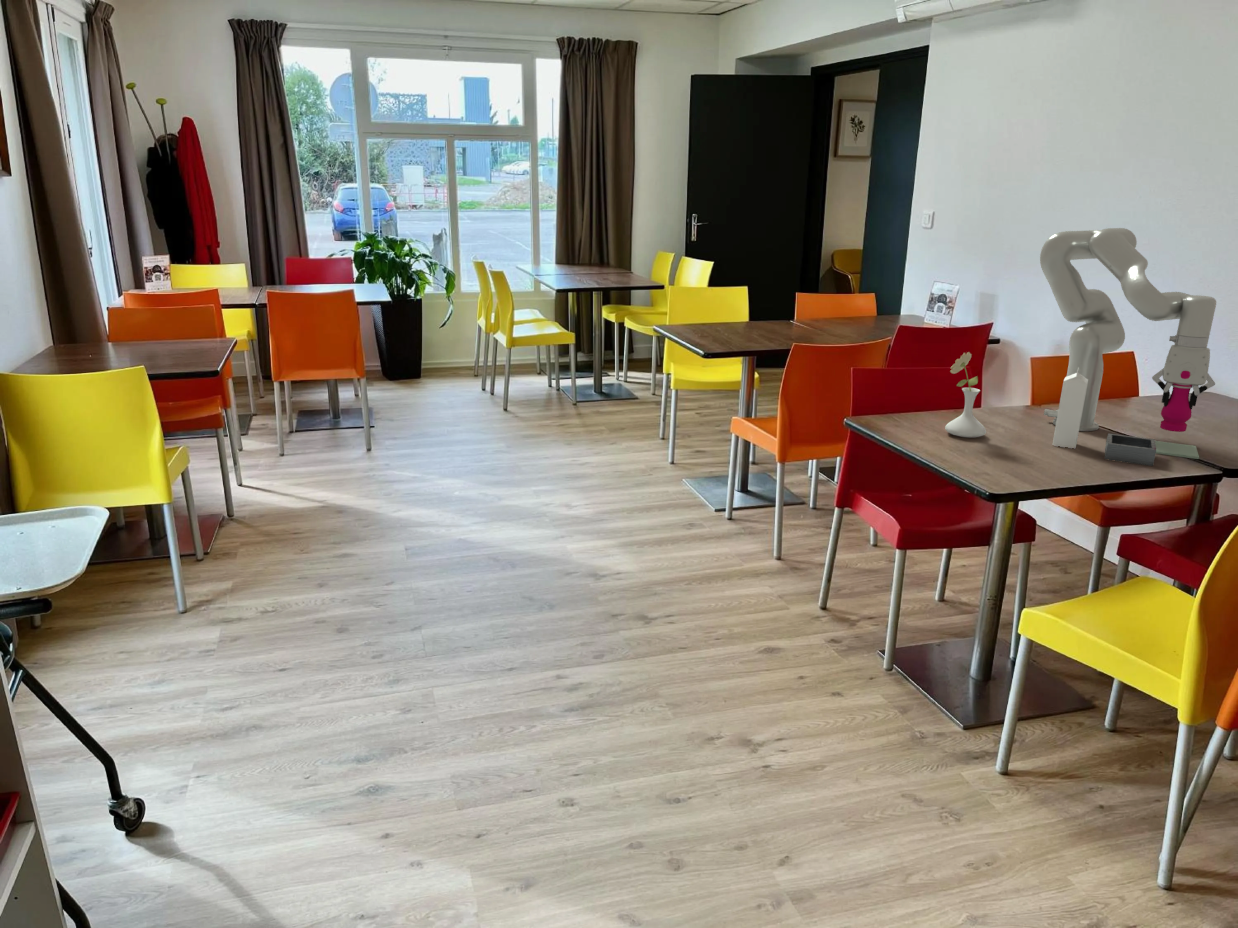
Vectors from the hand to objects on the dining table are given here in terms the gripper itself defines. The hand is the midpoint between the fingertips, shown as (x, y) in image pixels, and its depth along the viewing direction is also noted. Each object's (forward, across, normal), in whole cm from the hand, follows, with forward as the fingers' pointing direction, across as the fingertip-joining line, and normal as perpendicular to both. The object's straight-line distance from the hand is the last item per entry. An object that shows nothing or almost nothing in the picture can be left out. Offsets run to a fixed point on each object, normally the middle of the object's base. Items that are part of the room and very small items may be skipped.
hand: (1177, 406), depth 245 cm
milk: (+13, -26, -10) cm, 31 cm away
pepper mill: (+7, 0, 0) cm, 7 cm away
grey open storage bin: (+13, -10, -14) cm, 21 cm away
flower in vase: (+13, -53, -15) cm, 57 cm away
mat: (+13, 0, 0) cm, 13 cm away
